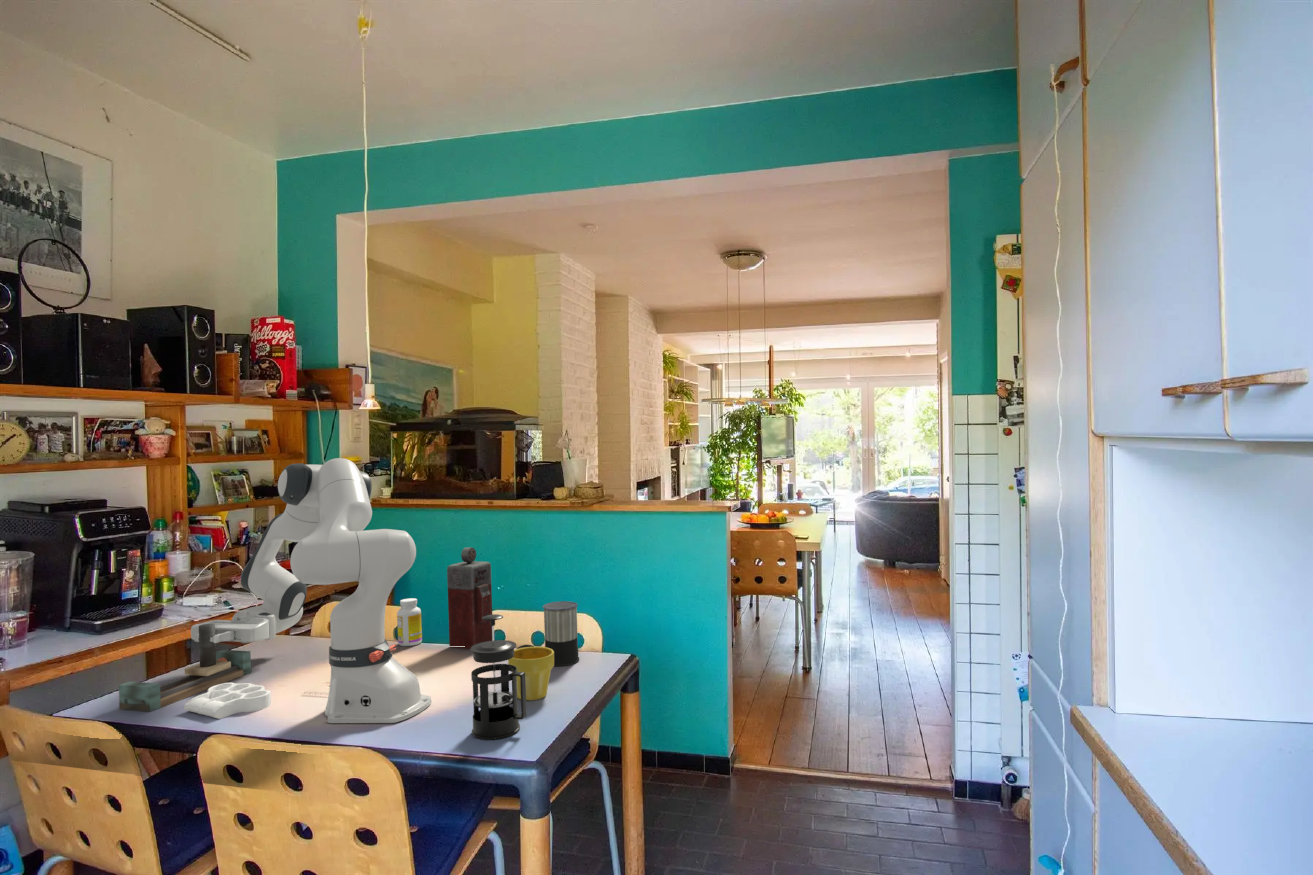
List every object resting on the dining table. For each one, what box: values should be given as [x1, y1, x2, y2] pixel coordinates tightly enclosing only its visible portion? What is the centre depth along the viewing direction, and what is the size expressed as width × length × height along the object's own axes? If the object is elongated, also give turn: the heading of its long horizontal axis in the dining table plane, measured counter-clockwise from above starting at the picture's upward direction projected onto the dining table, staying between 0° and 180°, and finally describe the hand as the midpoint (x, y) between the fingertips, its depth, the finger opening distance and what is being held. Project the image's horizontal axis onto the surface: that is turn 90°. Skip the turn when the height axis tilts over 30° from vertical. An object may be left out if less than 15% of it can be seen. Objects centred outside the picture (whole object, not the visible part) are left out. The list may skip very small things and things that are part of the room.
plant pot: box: [507, 646, 555, 701], centre depth 164 cm, size 10×10×10 cm
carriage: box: [184, 623, 231, 676], centre depth 182 cm, size 7×7×12 cm
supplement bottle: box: [396, 597, 423, 647], centre depth 212 cm, size 7×7×13 cm
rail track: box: [118, 649, 252, 713], centre depth 177 cm, size 9×28×6 cm, turn 165°
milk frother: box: [516, 600, 580, 667], centre depth 190 cm, size 14×16×15 cm
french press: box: [470, 613, 528, 741], centre depth 145 cm, size 12×9×23 cm
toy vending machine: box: [446, 546, 493, 651], centre depth 208 cm, size 9×11×28 cm
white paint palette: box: [183, 682, 272, 720], centre depth 164 cm, size 3×18×15 cm
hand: (204, 639), depth 181 cm, fingers closed on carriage, 3 cm apart
